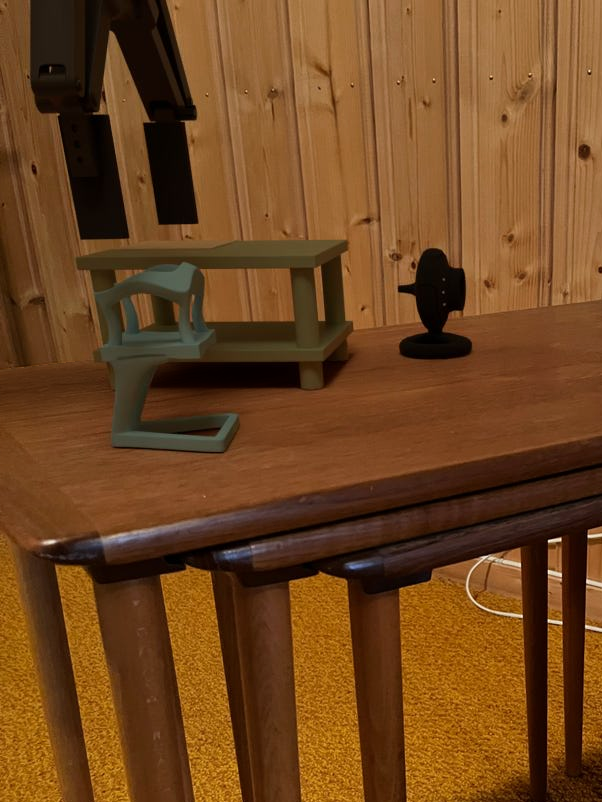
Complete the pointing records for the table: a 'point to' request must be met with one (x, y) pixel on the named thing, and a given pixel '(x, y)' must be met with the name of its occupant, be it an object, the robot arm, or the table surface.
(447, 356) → the webcam
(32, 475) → the table surface
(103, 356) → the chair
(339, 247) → the shelf
